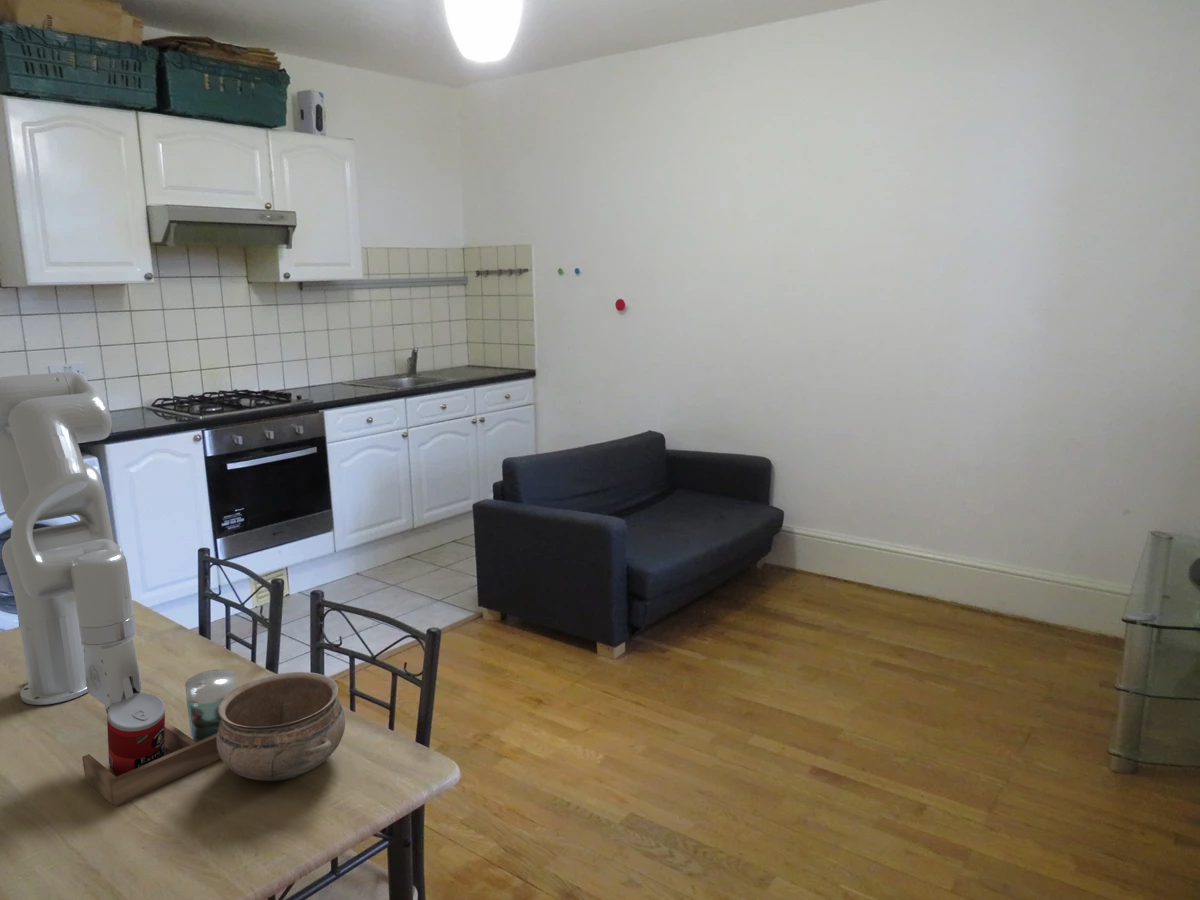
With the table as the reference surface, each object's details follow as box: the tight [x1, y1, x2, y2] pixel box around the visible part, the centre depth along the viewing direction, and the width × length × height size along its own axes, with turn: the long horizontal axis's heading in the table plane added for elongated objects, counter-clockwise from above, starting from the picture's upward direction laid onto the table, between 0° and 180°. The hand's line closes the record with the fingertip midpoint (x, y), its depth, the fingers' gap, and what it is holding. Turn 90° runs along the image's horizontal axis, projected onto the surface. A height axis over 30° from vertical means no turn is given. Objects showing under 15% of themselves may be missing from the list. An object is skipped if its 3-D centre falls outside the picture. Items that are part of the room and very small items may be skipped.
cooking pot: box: [217, 671, 346, 782], centre depth 131 cm, size 25×19×12 cm
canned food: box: [106, 691, 166, 777], centre depth 130 cm, size 8×8×11 cm
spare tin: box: [184, 668, 238, 742], centre depth 140 cm, size 8×8×11 cm
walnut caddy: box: [81, 721, 222, 808], centre depth 136 cm, size 11×25×4 cm, turn 141°
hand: (123, 736), depth 134 cm, fingers closed
